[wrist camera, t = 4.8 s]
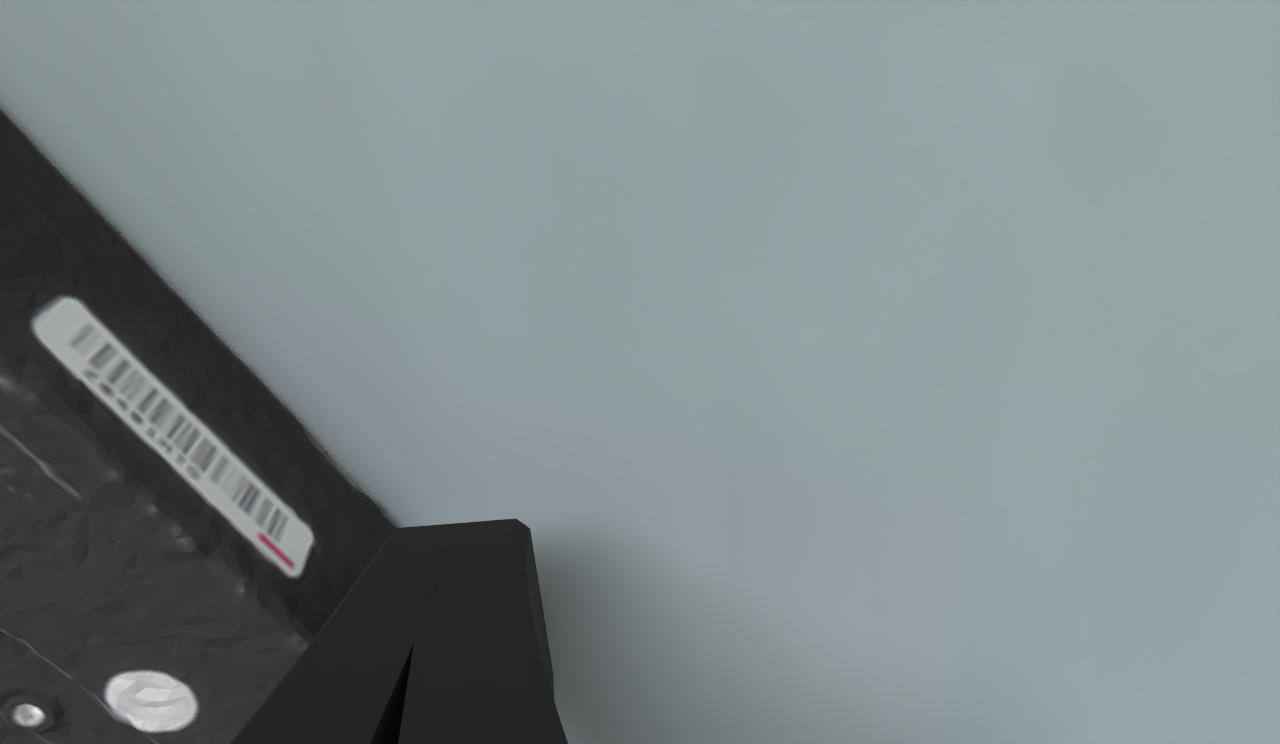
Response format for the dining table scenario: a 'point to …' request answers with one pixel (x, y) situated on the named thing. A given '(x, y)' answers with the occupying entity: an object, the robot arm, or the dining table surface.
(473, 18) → the dining table surface
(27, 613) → the disk drive
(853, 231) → the dining table surface
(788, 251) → the dining table surface
